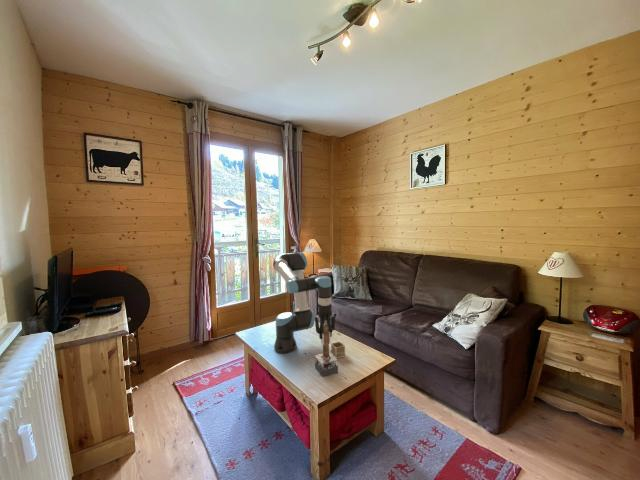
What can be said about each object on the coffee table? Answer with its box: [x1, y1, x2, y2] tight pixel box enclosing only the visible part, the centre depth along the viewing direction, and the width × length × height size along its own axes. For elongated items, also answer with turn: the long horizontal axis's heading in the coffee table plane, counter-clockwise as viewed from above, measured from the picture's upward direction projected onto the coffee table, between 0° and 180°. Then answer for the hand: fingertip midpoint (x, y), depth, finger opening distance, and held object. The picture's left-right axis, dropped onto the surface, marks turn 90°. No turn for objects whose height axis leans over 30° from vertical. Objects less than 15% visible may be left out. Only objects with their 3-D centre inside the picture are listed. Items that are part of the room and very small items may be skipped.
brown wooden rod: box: [322, 324, 330, 359], centre depth 156 cm, size 4×4×18 cm
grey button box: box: [314, 351, 339, 378], centre depth 157 cm, size 10×10×8 cm
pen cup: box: [330, 341, 346, 359], centre depth 174 cm, size 7×7×7 cm
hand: (325, 343), depth 156 cm, fingers closed on brown wooden rod, 3 cm apart
